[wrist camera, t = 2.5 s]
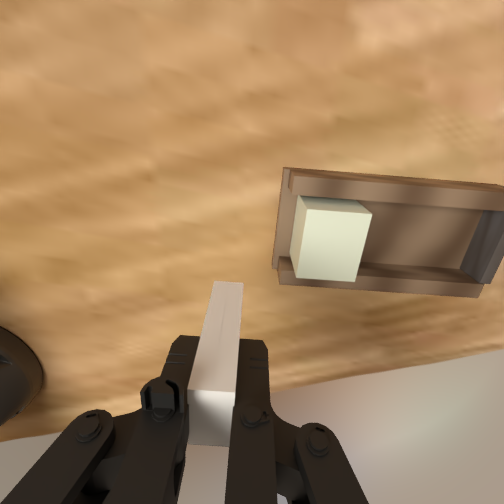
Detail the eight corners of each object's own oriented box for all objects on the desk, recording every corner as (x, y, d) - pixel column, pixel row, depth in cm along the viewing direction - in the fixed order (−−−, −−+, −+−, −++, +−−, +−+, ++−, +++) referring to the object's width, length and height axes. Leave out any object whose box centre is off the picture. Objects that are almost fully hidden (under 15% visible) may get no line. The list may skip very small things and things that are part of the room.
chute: (271, 264, 31) (274, 283, 28) (283, 166, 27) (288, 175, 23) (456, 277, 32) (483, 298, 28) (496, 184, 28) (533, 195, 24)
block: (289, 252, 30) (296, 277, 25) (298, 192, 27) (307, 209, 22) (339, 256, 30) (354, 281, 25) (352, 197, 27) (372, 214, 23)
